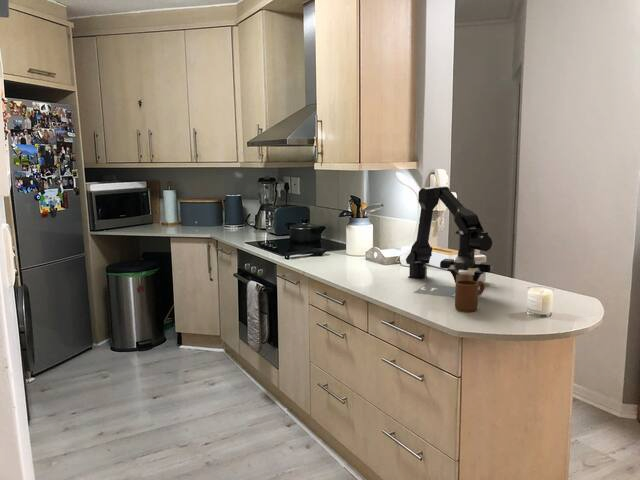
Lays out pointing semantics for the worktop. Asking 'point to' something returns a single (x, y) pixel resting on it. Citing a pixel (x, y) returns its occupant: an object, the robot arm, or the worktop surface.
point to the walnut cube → (464, 276)
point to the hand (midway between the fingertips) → (465, 287)
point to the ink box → (478, 259)
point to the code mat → (437, 290)
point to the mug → (467, 295)
